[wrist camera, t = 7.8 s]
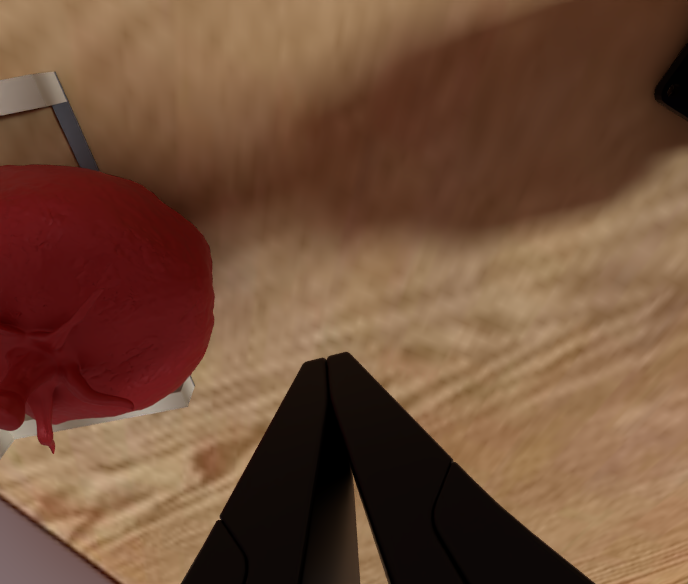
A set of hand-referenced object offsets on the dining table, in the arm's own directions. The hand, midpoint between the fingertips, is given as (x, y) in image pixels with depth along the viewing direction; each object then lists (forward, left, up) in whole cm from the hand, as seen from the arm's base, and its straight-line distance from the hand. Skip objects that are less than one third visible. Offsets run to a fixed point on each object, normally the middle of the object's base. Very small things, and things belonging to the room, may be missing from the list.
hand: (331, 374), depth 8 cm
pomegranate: (+7, +6, -12) cm, 16 cm away
